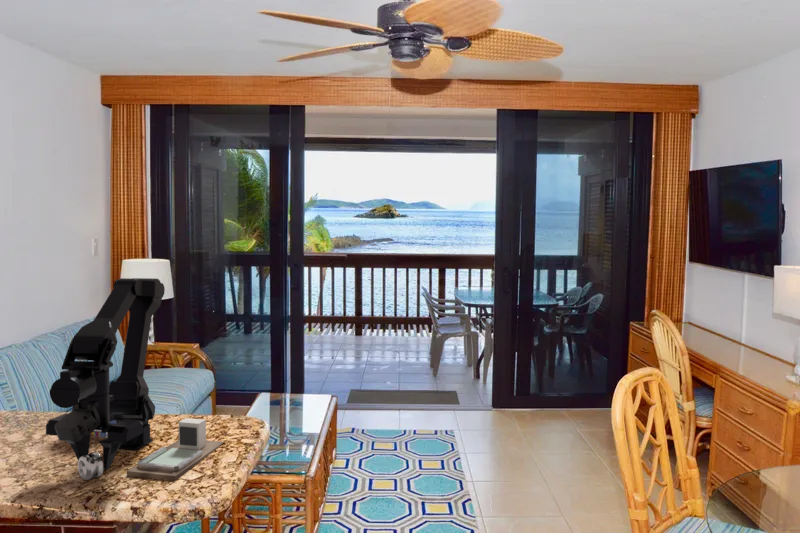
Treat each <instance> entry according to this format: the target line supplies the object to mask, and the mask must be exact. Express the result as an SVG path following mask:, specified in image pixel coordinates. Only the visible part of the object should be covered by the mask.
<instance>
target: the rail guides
mask: <svg viewBox="0 0 800 533" xmlns="http://www.w3.org/2000/svg"><path fill="white" fill-rule="evenodd" d="M166 447H167V446H162V447H160V448H159V449H157V450H155V451H154V452H153V451H152V452H151V453H150V454H148V455H146V457H144V458H141V459H140V460H139V461H137V465H138V467H139V468H141V469H150V470H160V471H170V472H174V471H180V470H181V469H183V468H184V467H186V466H187V465H189V464H190V463H191V462H193V461H194V460H196V459H197V458H199V457H200V456H202V450H199V451H197V452H196V453H194V454H193V455H191V456H190V457H188V458H187V459H185V460H184V461H182V462H181V463H179V464H178V465H176V466H175V465H165V464H155V463H148V462H150V461H152V460H153V459H155V458H157V457H158V456H160V455H162V454H163V453H165V452H166Z"/></svg>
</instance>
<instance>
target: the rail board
mask: <svg viewBox="0 0 800 533" xmlns="http://www.w3.org/2000/svg"><path fill="white" fill-rule="evenodd" d="M223 443H224V444H225V441H218V440H216V441H215V440H207V439H206V446H204V447H203V448H201V449H200V450H202V456H200V457H199V458H197V459H196V460H194V461H193V462H191V463H190V464H189V465H187V466H186V467H184V468H183V469H181V470H180V471H174V472H170V471H160V470H150V469H141V468H139V467H138V464H136V465H134V466H133V467H131V468H130V469H127V470H126V477H134V478H145V479H155V480H163V481H164V480H166V481H177V480H179V479H180V478H181V477H182V476H184V475H185V474H186V473H187V472H189V471H190V470H191V469H193V467H196V465H199V463H200V462H202V461H203V460H204V459H205V458H207V457H208V456H209V454H210V455H211V454H212V453H213V452H215V451H216V450H217V449H219V448H220V447H222V444H223ZM224 444H223V445H224ZM219 446H220V447H219ZM165 447H166V452H165V453H163V454H162V455H160V456H158V457H157V458H155V459H153V460H152V461H150V462H148V463H155V464H165V465H175V466H176V465H178V464H179V463H181V462H182V461H184V460H185V459H187V458H188V457H190V456H191V455H193V454H194V453H196V452H197V451H199V450H193V449H183V448H179V439H178V440H176V441H175V442H173V443H172V444H171V443H170V445H168V446H165ZM218 447H219V448H218ZM214 450H215V451H214Z"/></svg>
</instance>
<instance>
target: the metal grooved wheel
mask: <svg viewBox="0 0 800 533" xmlns="http://www.w3.org/2000/svg"><path fill="white" fill-rule="evenodd" d="M77 461H78V460H77ZM77 469H78V470H77V471H78V473H79V476H80V478H82V480H85V481H89V480H92V478H94V479H96V478H99V477H101V476H102V475H103V472H104V464H103V457H102V456H101V454H100V453H99V452H98V451H92V452H89V454H88V455H82V456H81V457H80V458H79V461H78V462H77Z"/></svg>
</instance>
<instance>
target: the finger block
mask: <svg viewBox="0 0 800 533" xmlns="http://www.w3.org/2000/svg"><path fill="white" fill-rule="evenodd" d="M206 420H207V419H202V418H201V419H200V418H190V417H185V418H183V419H182V420H180V421H178V440H179V448H183V449H193V450H200V449H201V448H203V447H204V446H206V440H207V421H206Z"/></svg>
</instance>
